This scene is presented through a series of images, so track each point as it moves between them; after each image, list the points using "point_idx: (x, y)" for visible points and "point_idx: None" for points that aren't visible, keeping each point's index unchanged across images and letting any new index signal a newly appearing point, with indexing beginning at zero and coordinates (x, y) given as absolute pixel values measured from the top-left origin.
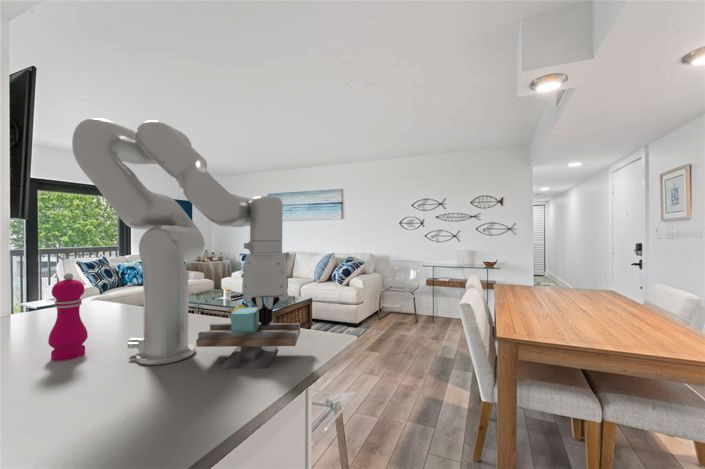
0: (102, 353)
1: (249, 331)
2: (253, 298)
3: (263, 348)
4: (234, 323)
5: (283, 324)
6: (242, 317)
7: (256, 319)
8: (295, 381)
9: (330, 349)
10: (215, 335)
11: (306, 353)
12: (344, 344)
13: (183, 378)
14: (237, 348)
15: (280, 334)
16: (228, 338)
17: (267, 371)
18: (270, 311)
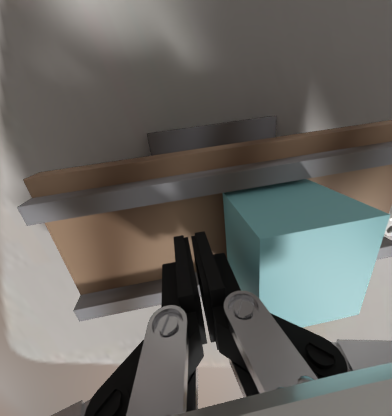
0: None
1: (242, 194)
2: (331, 370)
3: None
4: (327, 196)
5: (138, 297)
6: (310, 216)
7: (241, 267)
8: (6, 31)
9: (29, 279)
10: (364, 149)
11: None
12: (8, 314)
13: (353, 32)
14: None
15: (95, 192)
16: (307, 154)
17: (137, 108)
18: (167, 300)
